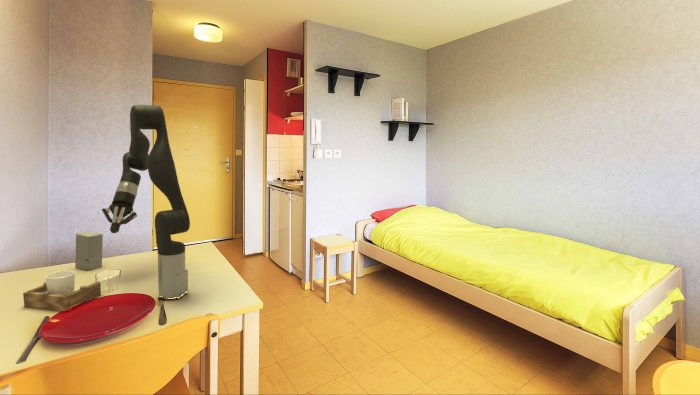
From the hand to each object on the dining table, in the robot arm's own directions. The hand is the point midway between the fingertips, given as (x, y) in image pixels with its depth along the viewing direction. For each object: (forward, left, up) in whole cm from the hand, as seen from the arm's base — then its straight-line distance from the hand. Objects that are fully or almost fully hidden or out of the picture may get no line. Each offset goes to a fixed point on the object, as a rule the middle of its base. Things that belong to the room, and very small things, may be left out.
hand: (113, 232), depth 137 cm
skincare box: (+22, -11, -21) cm, 32 cm away
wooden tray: (+3, +19, -21) cm, 28 cm away
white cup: (+3, +20, -21) cm, 29 cm away
